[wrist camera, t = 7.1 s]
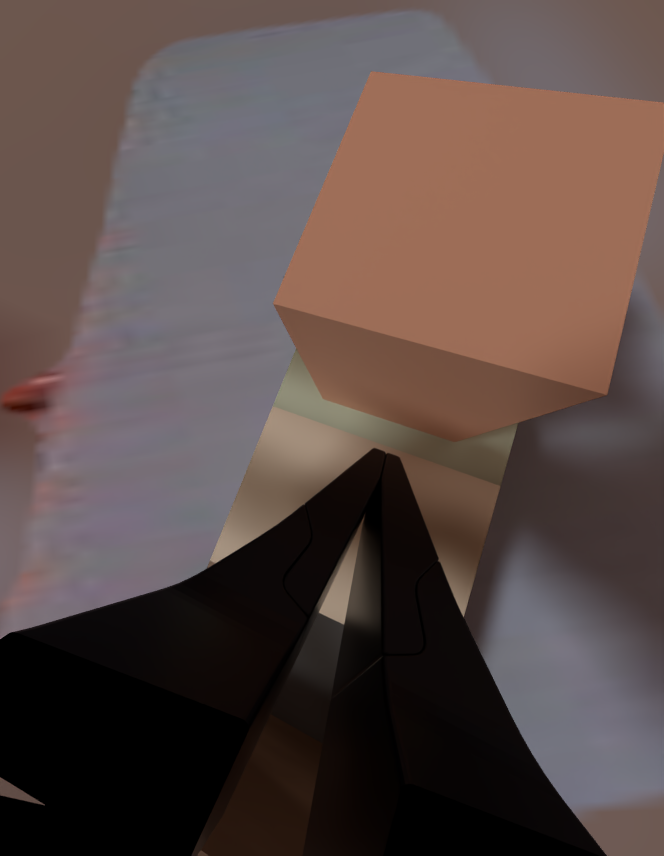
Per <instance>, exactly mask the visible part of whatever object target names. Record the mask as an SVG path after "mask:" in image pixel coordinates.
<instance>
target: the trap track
mask: <svg viewBox="0 0 664 856" xmlns="http://www.w3.org/2000/svg"><path fill="white" fill-rule="evenodd" d="M517 426H518V423H515V424H512V425H509V426H506V427H502V428H499V429H496V430H493V431H489V432H486V433H483V434H480V435H476V436H473V437H470V438H467V439H464V440H460V441H457V442H452V441H449V440H446V439H443V438H440V437H437V436H434V435H431V434H428V433H425V432H422V431H419V430H416V429H413V428H410V427H406V426H403V425H400V424H397V423H394V422H391V421H388V420H385V419H382V418H379V417H376V416H373V415H370V414H367V413H364V412H361V411H358V410H355V409H352V408H349V407H345V406H342V405H339V404H336V403H333V402H330V401H327V400H324V399H323V398H322V396H321V394H320V393H319V391H318V389H317V387H316V385H315V383H314V381H313V379H312V377H311V375H310V373H309V371H308V370H307V368H306V366H305V364H304V362H303V360H302V358H301V356H300V354H299V352H298V350H297V348H296V351H295V353H294V356H293V358H292V360H291V363H290V365H289V368H288V370H287V373H286V375H285V378H284V380H283V383H282V385H281V387H280V390H279V392H278V395H277V397H276V400H275V402H274V405H273V407H272V410H271V412H270V415H269V417H268V419H267V422H266V424H265V427H264V429H263V432H262V434H261V437H260V439H259V442H258V444H257V446H256V449H255V451H254V454H253V456H252V459H251V461H250V464H249V466H248V469H247V471H246V474H245V476H244V478H243V481H242V483H241V486H240V488H239V491H238V493H237V496H236V498H235V501H234V503H233V505H232V508H231V510H230V513H229V515H228V518H227V520H226V523H225V525H224V528H223V530H222V533H221V535H220V537H219V540H218V542H217V545H216V547H215V550H214V552H213V555H212V557H211V560H210V562H209V564H208V567H207V568H209V567H210V566H212V565H213V564H215V563H217V562H218V561H220V560H222V559H223V558H225V557H226V556H228V555H230V554H231V553H233V552H234V551H236V550H238V549H239V548H241V547H243V546H244V545H246V544H247V543H249V542H251V541H252V540H254V539H255V538H257V537H259V536H260V535H262V534H263V533H265V532H266V531H268V530H269V529H271V528H272V527H274V526H275V525H277V524H278V523H280V522H281V521H282V520H284V519H285V518H286V517H288V516H289V515H290V514H292V513H293V512H294V511H295V510H297V509H298V508H299V507H300V506H302V505H305V502H307V501H308V500H309V499H310V498H312V497H313V496H314V495H315V494H317V493H318V492H319V491H320V490H322V489H323V488H324V487H325V486H327V485H328V484H329V483H330V482H331V481H333V480H334V479H335V478H336V477H338V476H339V475H340V474H341V473H343V472H344V471H345V470H346V469H348V468H349V467H350V466H351V465H353V464H354V463H355V462H356V461H357V460H359V459H360V458H361V457H362V456H364V455H365V454H366V453H367V452H369V451H370V450H371V449H372V448H377V449H380V450H383V451H385V452H386V454H387V453H391V454H394V455H396V456H399V457H400V459H401V461H402V464H403V466H404V469H405V472H406V474H407V477H408V479H409V482H410V485H411V487H412V490H413V492H414V495H415V498H416V500H417V503H418V505H419V508H420V511H421V513H422V516H423V518H424V521H425V524H426V526H427V529H428V531H429V534H430V537H431V539H432V542H433V544H434V547H435V550H436V552H437V555H438V557H439V560H438V561H440V562H441V565H442V567H443V570H444V573H445V575H446V578H447V580H448V583H449V585H450V588H451V590H452V592H453V595H454V597H455V600H456V602H457V604H458V606H459V609H460V611H461V613H462V615H463V617H464V614H465V611H466V607H467V604H468V600H469V597H470V593H471V589H472V586H473V582H474V579H475V575H476V572H477V568H478V565H479V561H480V557H481V554H482V550H483V547H484V543H485V540H486V536H487V533H488V529H489V525H490V522H491V518H492V515H493V511H494V508H495V504H496V501H497V497H498V493H499V490H500V486H501V483H502V479H503V476H504V472H505V469H506V465H507V461H508V458H509V454H510V451H511V447H512V444H513V440H514V437H515V433H516V429H517ZM363 519H364V517H363ZM363 519H362V522H361V524H360V526H359V528H358V530H357V533H356V535H355V537H354V539H353V541H352V543H351V545H350V547H349V549H348V552H347V554H346V556H345V558H344V560H343V562H342V564H341V566H340V568H339V571H338V573H337V575H336V577H335V579H334V581H333V583H332V585H331V588H330V590H329V592H328V594H327V596H326V598H325V600H324V602H323V604H322V607H321V609H320V611H319V613H318V615H317V617H316V619H315V621H314V623H313V626H312V628H311V630H310V632H309V634H308V636H307V638H306V640H305V642H304V645H303V647H302V649H301V651H300V653H299V655H298V657H297V659H296V662H295V664H294V666H293V668H292V670H291V672H290V674H289V676H288V678H287V681H286V683H285V685H284V687H283V689H282V691H281V693H280V695H279V697H278V700H277V702H276V704H275V706H274V708H273V710H272V712H271V714H270V717H269V719H268V721H267V723H266V725H265V727H264V729H263V731H262V733H261V736H260V738H259V740H258V742H257V744H256V746H255V748H254V750H253V752H252V755H251V757H250V759H249V761H248V763H247V765H246V767H245V769H244V772H243V774H242V776H241V778H240V780H239V782H238V784H237V786H236V788H235V791H234V793H233V795H232V797H231V799H230V801H229V803H228V805H227V808H226V810H225V812H224V814H223V816H222V818H221V819H220V821H219V822H218V824H217V826H216V827H215V829H214V830H213V832H212V833H211V835H210V836H209V838H208V840H207V841H206V843H205V844H204V846H203V847H202V849H201V851H200V852H199V854H198V855H197V856H302V855H303V849H304V844H305V838H306V833H307V827H308V822H309V816H310V811H311V805H312V800H313V794H314V789H315V783H316V777H317V772H318V766H319V761H320V755H321V750H322V744H323V739H324V733H325V728H326V722H327V717H328V711H329V706H330V700H331V699H332V698H331V695H332V689H333V684H334V678H335V673H336V667H337V662H338V656H339V651H340V645H341V640H342V634H343V629H344V623H345V617H346V612H347V606H348V601H349V595H350V590H351V584H352V579H353V573H354V568H355V562H356V557H357V551H358V546H359V540H360V535H361V529H362V524H363Z"/></svg>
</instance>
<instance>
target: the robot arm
mask: <svg viewBox="0 0 664 856" xmlns="http://www.w3.org/2000/svg"><path fill="white" fill-rule="evenodd" d="M363 517H364V519H363ZM362 519H363V524H362V529H361V535H360V540H359V546H358V551H357V557H356V562H355V568H354V573H353V579H352V584H351V590H350V595H349V601H348V606H347V612H346V617H345V623H344V629H343V634H342V640H341V645H340V651H339V656H338V662H337V667H336V673H335V678H334V684H333V689H332V695H331V698H332V699H331V700H330V706H329V711H328V717H327V722H326V728H325V733H324V739H323V744H322V750H321V755H320V761H319V766H318V772H317V777H316V783H315V789H314V794H313V800H312V805H311V811H310V816H309V822H308V827H307V833H306V838H305V844H304V849H303V855H302V856H607V855H606V854H605V853H604V852H603V850H602V849H601V848H600V846H599V845H598V844H597V843H596V841H595V840H594V839H593V837H592V836H591V835H590V834H589V832H588V831H587V830H586V828H585V827H584V826H583V825H582V823H581V822H580V821H579V819H578V818H577V817H576V816H575V814H574V813H573V812H572V810H571V809H570V808H569V807H568V805H567V804H566V803H565V801H564V800H563V799H562V797H561V796H560V795H559V793H558V792H557V791H556V789H555V788H554V786H553V785H552V784H551V782H550V781H549V779H548V778H547V776H546V775H545V773H544V772H543V770H542V769H541V767H540V766H539V764H538V762H537V761H536V759H535V758H534V756H533V755H532V753H531V751H530V749H529V748H528V746H527V744H526V742H525V741H524V739H523V737H522V735H521V734H520V732H519V730H518V728H517V726H516V724H515V722H514V720H513V718H512V716H511V714H510V712H509V710H508V708H507V706H506V704H505V702H504V700H503V698H502V696H501V694H500V692H499V689H498V687H497V685H496V683H495V681H494V679H493V677H492V675H491V673H490V671H489V669H488V667H487V665H486V663H485V661H484V659H483V657H482V655H481V653H480V651H479V649H478V647H477V645H476V642H475V640H474V638H473V636H472V634H471V632H470V630H469V628H468V626H467V624H466V621H465V619H464V617H463V615H462V613H461V611H460V609H459V606H458V604H457V602H456V600H455V597H454V595H453V592H452V590H451V588H450V585H449V583H448V580H447V578H446V575H445V573H444V570H443V567H442V565H441V562H440V561H438V560H439V557H438V555H437V552H436V550H435V547H434V544H433V542H432V539H431V537H430V534H429V531H428V529H427V526H426V524H425V521H424V518H423V516H422V513H421V511H420V508H419V505H418V503H417V500H416V498H415V495H414V492H413V490H412V487H411V485H410V482H409V479H408V477H407V474H406V472H405V469H404V466H403V464H402V461H401V459H400V457H399V456H396V455H394V454H391V453H387V454H386V452H385V451H383V450H380V449H377V448H372V449H371V450H370V451H369V452H367V453H366V454H365V455H364V456H362V457H361V458H360V459H359V460H357V461H356V462H355V463H354V464H353V465H351V466H350V467H349V468H348V469H346V470H345V471H344V472H343V473H341V474H340V475H339V476H338V477H336V478H335V479H334V480H333V481H331V482H330V483H329V484H328V485H327V486H325V487H324V488H323V489H322V490H320V491H319V492H318V493H317V494H315V495H314V496H313V497H312V498H310V499H309V500H308V501H307V502H305V505H302V506H300V507H299V508H298V509H297V510H295V511H294V512H293V513H292V514H290V515H289V516H288V517H286V518H285V519H284V520H282V521H281V522H280V523H278V524H277V525H275V526H274V527H272V528H271V529H269V530H268V531H266V532H265V533H263V534H262V535H260V536H259V537H257V538H255V539H254V540H252V541H251V542H249V543H247V544H246V545H244V546H243V547H241V548H239V549H238V550H236V551H234V552H233V553H231V554H230V555H228V556H226V557H225V558H223V559H222V560H220V561H218V562H217V563H215V564H213V565H212V566H210V567H209V568H207V569H205V570H204V571H202V572H200V573H198V574H196V575H195V576H193V577H191V578H189V579H187V580H184V581H182V582H180V583H178V584H175V585H172V586H170V587H167V588H164V589H161V590H157V591H154V592H150V593H147V594H144V595H140V596H137V597H134V598H130V599H127V600H123V601H120V602H117V603H113V604H110V605H106V606H103V607H100V608H96V609H93V610H90V611H86V612H83V613H79V614H76V615H73V616H69V617H66V618H62V619H59V620H56V621H52V622H49V623H46V624H42V625H39V626H35V627H32V628H28V629H24V630H20V631H15V632H11V633H9V634H7V635H6V636H4V637H3V638H2V639H0V856H197V855H198V854H199V852H200V851H201V849H202V847H203V846H204V844H205V843H206V841H207V840H208V838H209V836H210V835H211V833H212V832H213V830H214V829H215V827H216V826H217V824H218V822H219V821H220V819H221V818H222V816H223V814H224V812H225V810H226V808H227V805H228V803H229V801H230V799H231V797H232V795H233V793H234V791H235V788H236V786H237V784H238V782H239V780H240V778H241V776H242V774H243V772H244V769H245V767H246V765H247V763H248V761H249V759H250V757H251V755H252V752H253V750H254V748H255V746H256V744H257V742H258V740H259V738H260V736H261V733H262V731H263V729H264V727H265V725H266V723H267V721H268V719H269V717H270V714H271V712H272V710H273V708H274V706H275V704H276V702H277V700H278V697H279V695H280V693H281V691H282V689H283V687H284V685H285V683H286V681H287V678H288V676H289V674H290V672H291V670H292V668H293V666H294V664H295V662H296V659H297V657H298V655H299V653H300V651H301V649H302V647H303V645H304V642H305V640H306V638H307V636H308V634H309V632H310V630H311V628H312V626H313V623H314V621H315V619H316V617H317V615H318V613H319V611H320V609H321V607H322V604H323V602H324V600H325V598H326V596H327V594H328V592H329V590H330V588H331V585H332V583H333V581H334V579H335V577H336V575H337V573H338V571H339V568H340V566H341V564H342V562H343V560H344V558H345V556H346V554H347V552H348V549H349V547H350V545H351V543H352V541H353V539H354V537H355V535H356V533H357V530H358V528H359V526H360V524H361V522H362Z"/></svg>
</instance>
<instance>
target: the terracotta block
mask: <svg viewBox="0 0 664 856" xmlns="http://www.w3.org/2000/svg"><path fill="white" fill-rule="evenodd" d="M663 154H664V103H661V102H652V101H643V100H633V99H623V98H615V97H606V96H596V95H587V94H577V93H568V92H559V91H549V90H540V89H530V88H522V87H521V88H520V87H512V86H503V85H494V84H484V83H475V82H465V81H456V80H447V79H437V78H428V77H419V76H409V75H400V74H391V73H381V72H372V71H371V73H370V75H369V78H368V80H367V83H366V85H365V87H364V90H363V92H362V94H361V97H360V99H359V101H358V104H357V106H356V109H355V111H354V113H353V116H352V118H351V120H350V123H349V125H348V127H347V130H346V132H345V135H344V137H343V139H342V142H341V144H340V146H339V149H338V151H337V154H336V156H335V158H334V161H333V163H332V165H331V168H330V170H329V172H328V175H327V177H326V180H325V182H324V184H323V187H322V189H321V191H320V194H319V196H318V198H317V201H316V203H315V206H314V208H313V210H312V213H311V215H310V217H309V220H308V222H307V225H306V227H305V229H304V232H303V234H302V236H301V239H300V241H299V243H298V246H297V248H296V251H295V253H294V255H293V258H292V260H291V262H290V265H289V267H288V269H287V272H286V274H285V277H284V279H283V281H282V284H281V286H280V288H279V291H278V293H277V296H276V298H275V300H274V303H273V304H274V306H275V308H276V310H277V312H278V314H279V316H280V318H281V320H282V322H283V324H284V325H285V327H286V329H287V331H288V333H289V335H290V337H291V339H292V341H293V343H294V345H295V347H296V348H297V350H298V352H299V354H300V356H301V358H302V360H303V362H304V364H305V366H306V368H307V370H308V371H309V373H310V375H311V377H312V379H313V381H314V383H315V385H316V387H317V389H318V391H319V393H320V394H321V396H322V398H323V399H324V400H327V401H330V402H333V403H336V404H339V405H342V406H345V407H349V408H352V409H355V410H358V411H361V412H364V413H367V414H370V415H373V416H376V417H379V418H382V419H385V420H388V421H391V422H394V423H397V424H400V425H403V426H406V427H410V428H413V429H416V430H419V431H422V432H425V433H428V434H431V435H434V436H437V437H440V438H443V439H446V440H449V441H452V442H457V441H460V440H464V439H467V438H470V437H473V436H476V435H480V434H483V433H486V432H489V431H493V430H496V429H499V428H502V427H506V426H509V425H512V424H515V423H518V422H522V421H525V420H528V419H531V418H535V417H538V416H541V415H544V414H548V413H551V412H554V411H557V410H560V409H564V408H567V407H570V406H573V405H577V404H580V403H583V402H586V401H589V400H593V399H596V398H599V397H602V396H606V395H607V394H608V390H609V385H610V381H611V377H612V372H613V368H614V364H615V360H616V355H617V351H618V347H619V342H620V338H621V334H622V330H623V325H624V321H625V317H626V312H627V308H628V304H629V300H630V295H631V291H632V287H633V282H634V278H635V274H636V270H637V265H638V261H639V257H640V252H641V248H642V244H643V240H644V235H645V231H646V226H647V222H648V218H649V214H650V209H651V205H652V201H653V196H654V192H655V188H656V184H657V180H658V175H659V171H660V166H661V163H662V158H663Z"/></svg>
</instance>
